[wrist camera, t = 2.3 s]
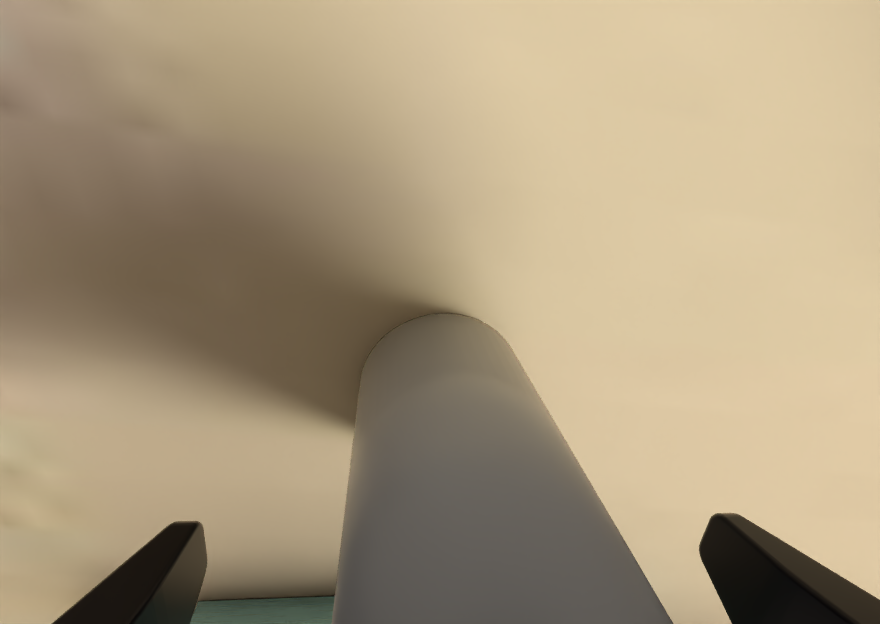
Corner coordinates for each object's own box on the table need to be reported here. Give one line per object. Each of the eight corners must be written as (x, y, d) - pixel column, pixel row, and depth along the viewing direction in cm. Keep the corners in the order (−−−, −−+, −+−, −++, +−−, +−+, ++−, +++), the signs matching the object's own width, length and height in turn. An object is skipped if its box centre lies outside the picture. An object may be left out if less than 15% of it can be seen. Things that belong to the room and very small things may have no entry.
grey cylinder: (532, 317, 11) (795, 644, 4) (506, 453, 13) (662, 868, 6) (362, 309, 11) (305, 676, 3) (357, 452, 12) (311, 916, 5)
